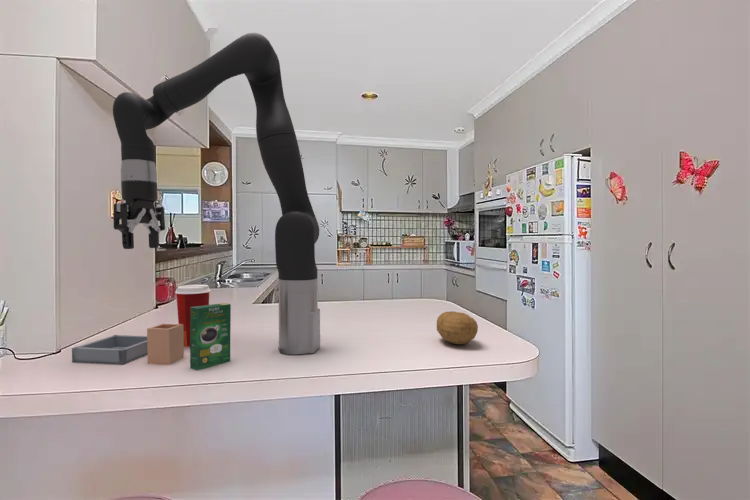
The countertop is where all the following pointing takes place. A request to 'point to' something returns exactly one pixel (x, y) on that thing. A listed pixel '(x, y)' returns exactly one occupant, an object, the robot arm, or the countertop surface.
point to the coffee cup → (190, 305)
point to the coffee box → (210, 335)
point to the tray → (111, 350)
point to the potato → (456, 327)
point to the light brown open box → (165, 343)
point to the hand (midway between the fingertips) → (141, 248)
